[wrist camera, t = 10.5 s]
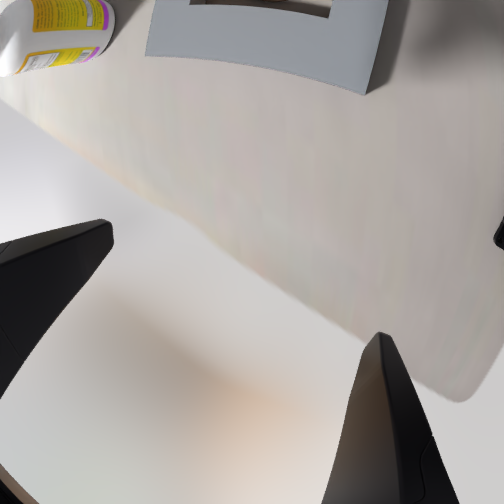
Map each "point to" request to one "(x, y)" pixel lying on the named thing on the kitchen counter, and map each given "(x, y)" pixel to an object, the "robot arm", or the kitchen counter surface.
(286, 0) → the wooden drawer knob
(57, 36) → the supplement bottle
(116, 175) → the kitchen counter surface
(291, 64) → the notched board
